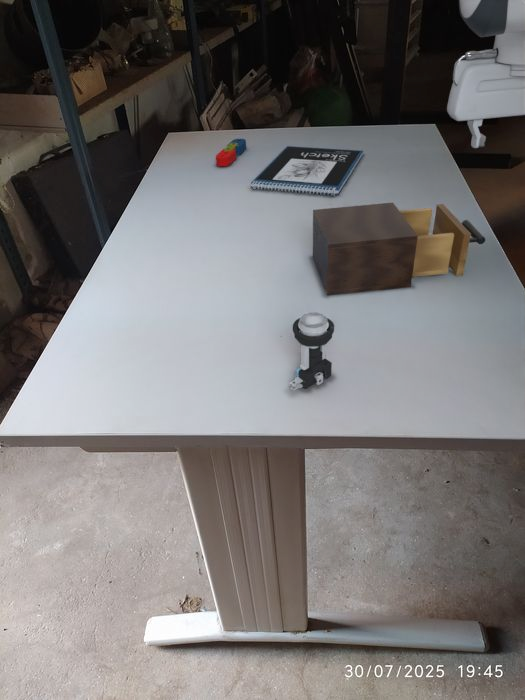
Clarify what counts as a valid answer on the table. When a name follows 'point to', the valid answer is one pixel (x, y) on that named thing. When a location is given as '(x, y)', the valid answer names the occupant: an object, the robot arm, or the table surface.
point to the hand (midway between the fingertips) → (505, 144)
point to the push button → (312, 349)
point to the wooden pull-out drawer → (440, 241)
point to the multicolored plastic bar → (230, 152)
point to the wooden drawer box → (363, 248)
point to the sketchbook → (309, 170)
